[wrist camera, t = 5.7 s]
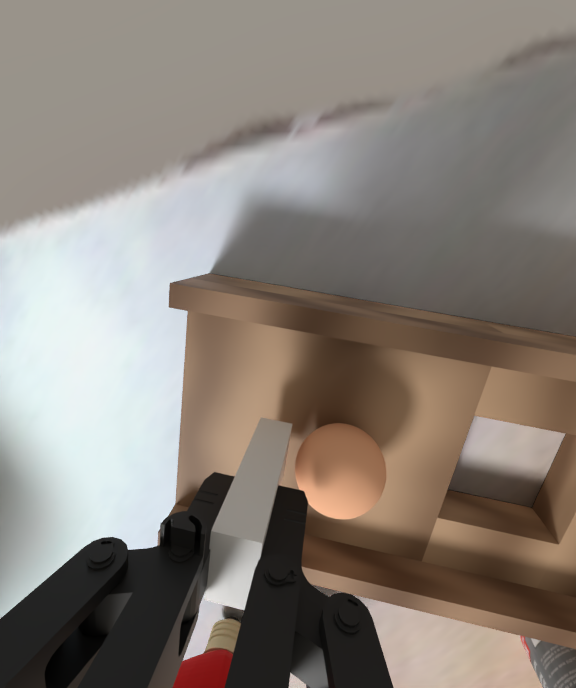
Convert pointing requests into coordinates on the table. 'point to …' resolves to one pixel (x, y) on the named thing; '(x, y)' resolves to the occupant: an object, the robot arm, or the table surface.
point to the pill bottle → (551, 663)
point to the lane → (393, 442)
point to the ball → (340, 471)
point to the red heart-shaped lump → (211, 658)
